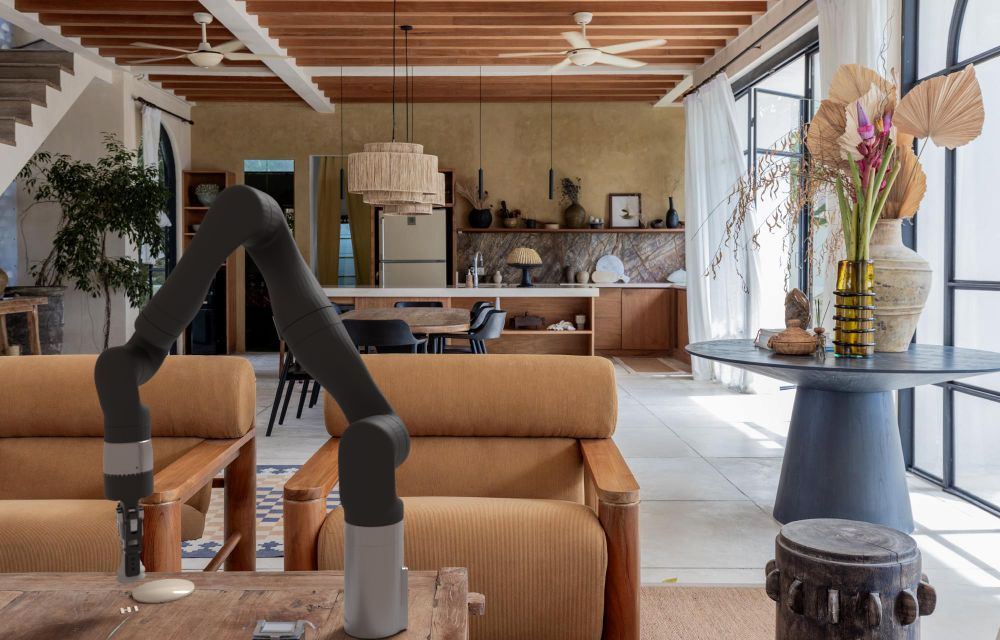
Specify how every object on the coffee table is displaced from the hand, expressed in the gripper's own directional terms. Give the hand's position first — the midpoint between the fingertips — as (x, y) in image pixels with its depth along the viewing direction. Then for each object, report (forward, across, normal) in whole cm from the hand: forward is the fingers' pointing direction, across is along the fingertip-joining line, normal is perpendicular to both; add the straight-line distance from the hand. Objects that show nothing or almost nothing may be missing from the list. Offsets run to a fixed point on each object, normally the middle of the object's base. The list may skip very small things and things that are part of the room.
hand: (131, 571), depth 140 cm
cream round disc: (+7, +6, -6) cm, 11 cm away
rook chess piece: (+2, 0, 0) cm, 2 cm away
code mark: (+7, 0, 0) cm, 7 cm away
